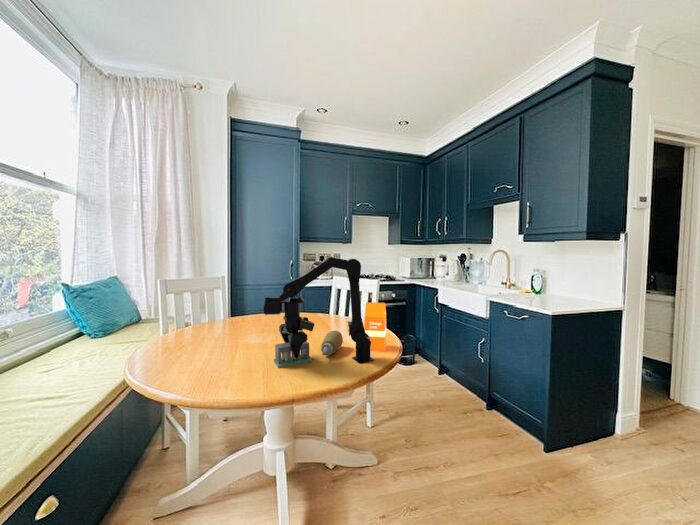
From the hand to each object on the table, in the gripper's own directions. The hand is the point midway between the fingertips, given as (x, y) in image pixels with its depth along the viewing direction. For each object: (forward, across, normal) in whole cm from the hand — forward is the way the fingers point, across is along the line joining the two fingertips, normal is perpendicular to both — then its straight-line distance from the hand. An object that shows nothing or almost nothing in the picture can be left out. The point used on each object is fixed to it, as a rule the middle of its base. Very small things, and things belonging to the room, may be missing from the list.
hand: (292, 354), depth 116 cm
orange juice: (+3, -1, -37) cm, 37 cm away
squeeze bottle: (-1, +9, -23) cm, 24 cm away
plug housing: (+2, 0, 0) cm, 2 cm away
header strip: (+3, 0, 0) cm, 3 cm away
